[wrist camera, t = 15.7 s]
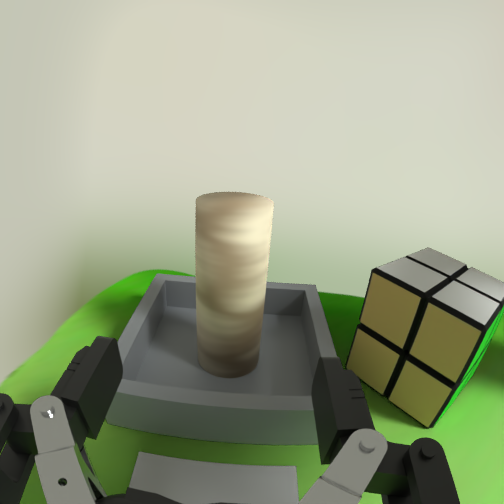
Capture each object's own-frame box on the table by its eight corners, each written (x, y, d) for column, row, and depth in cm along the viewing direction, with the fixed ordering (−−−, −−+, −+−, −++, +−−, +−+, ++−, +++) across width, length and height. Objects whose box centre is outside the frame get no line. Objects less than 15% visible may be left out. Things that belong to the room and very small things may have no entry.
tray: (309, 317, 34) (315, 284, 32) (335, 443, 19) (351, 408, 17) (159, 306, 33) (156, 273, 32) (107, 423, 19) (93, 386, 17)
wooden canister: (258, 340, 28) (272, 194, 23) (258, 380, 23) (275, 214, 18) (202, 336, 28) (202, 190, 23) (193, 375, 23) (188, 208, 18)
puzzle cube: (400, 330, 32) (426, 245, 28) (473, 374, 24) (514, 286, 21) (342, 368, 26) (370, 266, 23) (428, 432, 19) (488, 329, 15)
